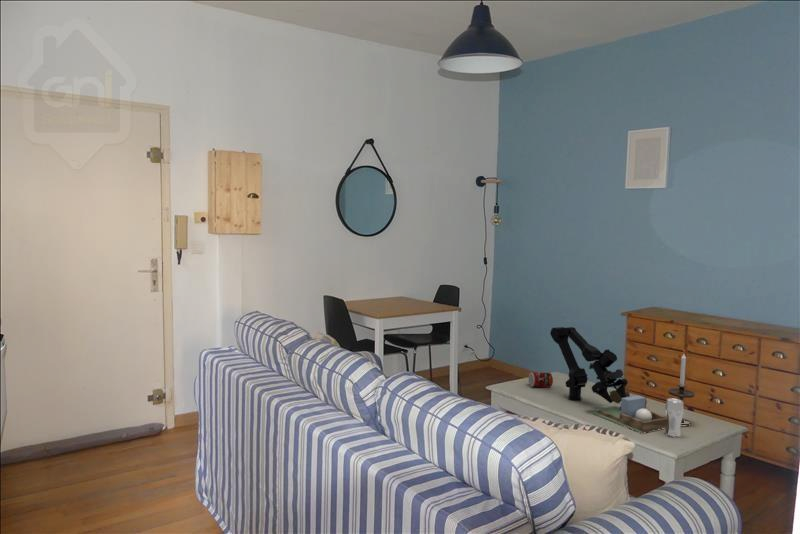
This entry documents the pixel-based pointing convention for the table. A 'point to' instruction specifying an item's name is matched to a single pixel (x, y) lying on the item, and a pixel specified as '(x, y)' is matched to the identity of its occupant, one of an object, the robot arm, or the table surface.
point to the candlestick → (682, 385)
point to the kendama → (617, 397)
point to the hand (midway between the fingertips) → (618, 401)
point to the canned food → (540, 379)
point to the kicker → (632, 405)
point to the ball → (643, 415)
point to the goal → (630, 419)
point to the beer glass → (673, 416)
